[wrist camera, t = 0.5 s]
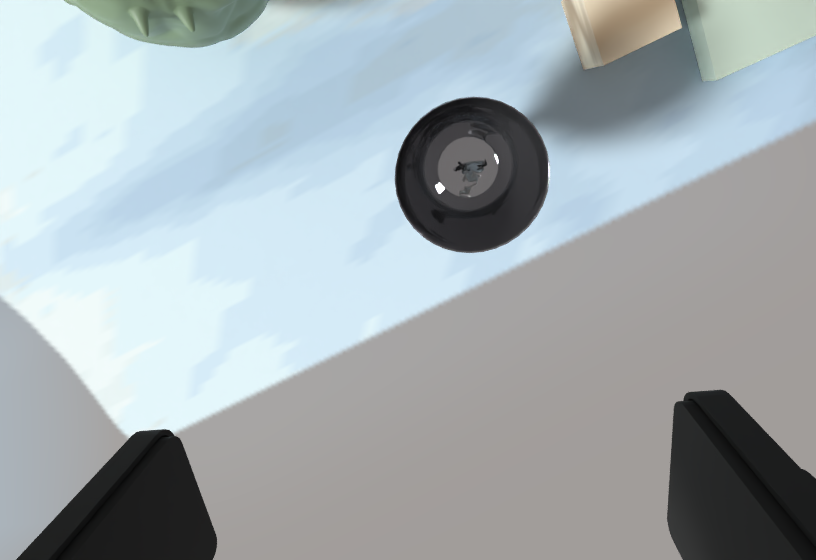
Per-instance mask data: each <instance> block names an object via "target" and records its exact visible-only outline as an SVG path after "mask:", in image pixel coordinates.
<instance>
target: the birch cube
mask: <svg viewBox="0 0 816 560" xmlns="http://www.w3.org/2000/svg"><path fill="white" fill-rule="evenodd" d="M561 3H562V6H563V9H564V12H565V15H566V18H567V21H568V24H569V27H570V30H571V33H572V36H573V39H574V42H575V45H576V48H577V51H578V55H579V58H580V61H581V64H582V67H583V70H586V69H591V68H595V67H600V66H604V65H606V64H608V63H610V62H612V61H614V60H617V59H619V58H621V57H623V56H625V55H627V54H629V53H631V52H633V51H635V50H637V49H639V48H641V47H643V46H645V45H648V44H650V43H652V42H654V41H656V40H658V39H660V38H662V37H664V36H666V35H668V34H670V33H672V32H674V31H676V30H679V29H681V28H682V25H681V22H680V18H679V14H678V10H677V6H676V3H675V0H563V1H561Z"/></svg>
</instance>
